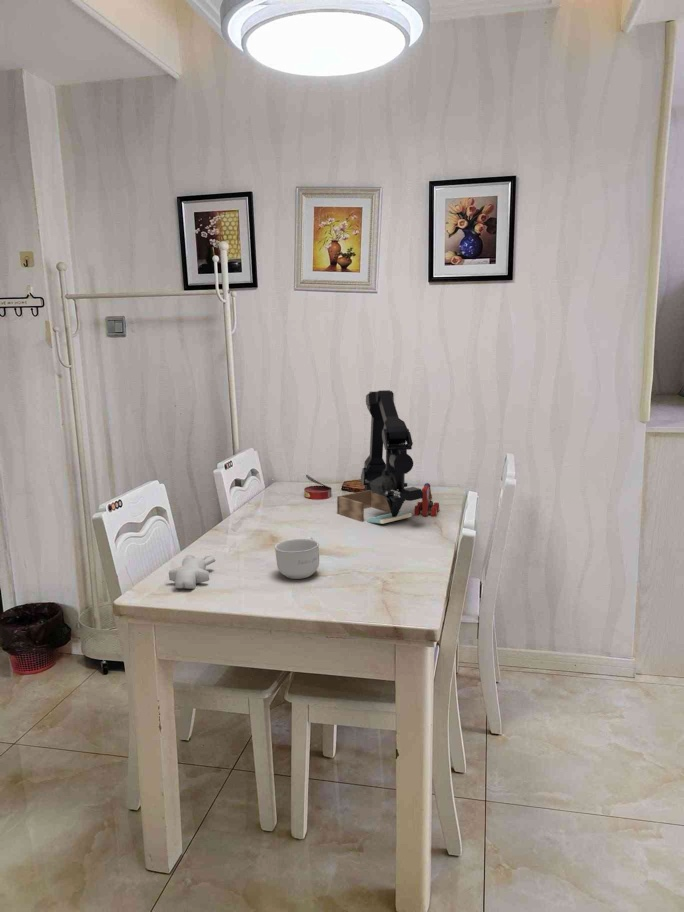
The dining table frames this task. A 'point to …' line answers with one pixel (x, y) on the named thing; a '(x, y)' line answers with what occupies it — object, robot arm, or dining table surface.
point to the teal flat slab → (388, 518)
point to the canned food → (317, 491)
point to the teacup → (297, 557)
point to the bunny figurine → (191, 572)
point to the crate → (360, 504)
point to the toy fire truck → (426, 503)
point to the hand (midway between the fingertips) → (394, 516)
